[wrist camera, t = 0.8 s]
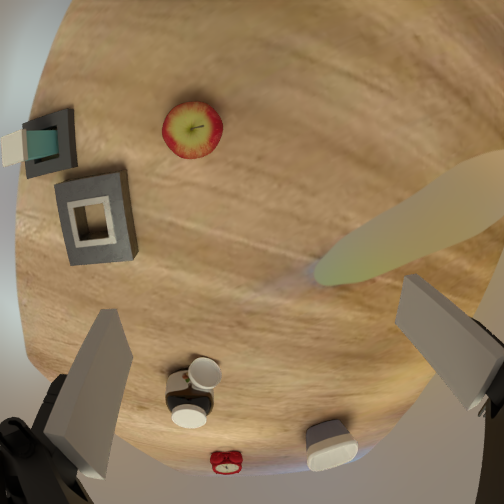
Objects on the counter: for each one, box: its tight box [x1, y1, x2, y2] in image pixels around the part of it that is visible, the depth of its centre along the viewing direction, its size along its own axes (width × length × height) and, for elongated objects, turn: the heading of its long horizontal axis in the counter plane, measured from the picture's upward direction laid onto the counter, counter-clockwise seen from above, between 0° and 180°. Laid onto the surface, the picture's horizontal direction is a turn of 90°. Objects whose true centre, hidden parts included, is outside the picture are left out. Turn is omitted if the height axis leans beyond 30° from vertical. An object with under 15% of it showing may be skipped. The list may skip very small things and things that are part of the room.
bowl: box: [306, 420, 358, 472], centre depth 69 cm, size 15×15×11 cm
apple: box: [162, 101, 223, 159], centre depth 37 cm, size 8×8×10 cm
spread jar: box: [165, 357, 222, 428], centre depth 53 cm, size 12×11×12 cm
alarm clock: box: [210, 451, 243, 475], centre depth 73 cm, size 10×6×15 cm
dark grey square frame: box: [22, 108, 78, 179], centre depth 37 cm, size 10×10×2 cm
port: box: [54, 170, 139, 266], centre depth 42 cm, size 14×12×4 cm
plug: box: [1, 129, 59, 167], centre depth 33 cm, size 4×4×12 cm
